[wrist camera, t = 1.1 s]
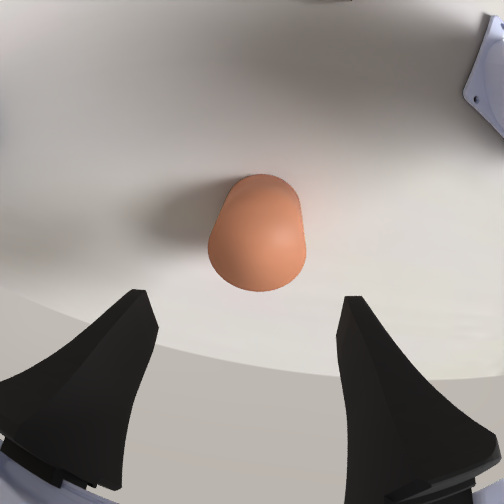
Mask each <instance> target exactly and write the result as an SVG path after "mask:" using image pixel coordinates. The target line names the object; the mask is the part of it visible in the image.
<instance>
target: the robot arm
mask: <svg viewBox="0 0 504 504" xmlns="http://www.w3.org/2000/svg"><path fill="white" fill-rule="evenodd" d="M501 26H502V28H501ZM463 96H464V98H465V100H466V101H467V102H468V103H469V104H470V105H472V106H473V107H474V108H475V109H476V110H477V111H478V112H479V113H480V114H481V115H482V116H483V117H484V118H485V119H486V120H487V121H488V122H489V123H490V124H491V125H492V126H493V127H494V128H495V129H496V130H497V131H498V133H499V134H500V135H501V136H502V137H503V138H504V22H503V21H502V20H501V18H500V17H498V16H497V15H493V16H491V18H490V21H489V24H488V28H487V31H486V34H485V37H484V39H483V42H482V45H481V48H480V51H479V53H478V56H477V59H476V61H475V64H474V66H473V69H472V71H471V74H470V76H469V79H468V81H467V83H466V86H465V88H464V90H463ZM474 97H476V102H474ZM158 329H159V327H158V324H157V321H156V318H155V316H154V313H153V310H152V307H151V304H150V301H149V298H148V296H147V293H146V290H136V289H132V290H130V291H129V292H128V293H126V294H125V295H124V296H123V297H122V298H121V299H119V300H118V301H117V302H116V303H115V304H114V305H113V306H111V307H110V308H109V309H108V310H107V311H106V312H105V313H104V314H102V315H101V316H100V317H99V318H98V319H97V320H96V321H95V322H93V323H92V324H91V325H90V326H89V327H87V329H85V330H84V331H83V332H82V333H80V334H79V335H78V336H77V337H75V338H74V339H73V340H72V341H71V342H69V343H68V344H66V345H65V346H64V347H62V348H61V349H60V350H58V351H57V352H56V353H54V354H52V355H51V356H49V357H48V358H46V359H44V360H43V361H41V362H39V363H38V364H36V365H34V366H33V367H31V368H29V369H28V370H26V371H24V372H22V373H20V374H17V375H15V376H13V377H11V378H9V379H6V380H4V381H1V382H0V433H1V434H2V435H4V436H5V439H4V441H2V440H1V439H0V504H118V503H116V502H113V501H110V500H108V499H105V498H103V497H100V496H98V495H96V494H93V493H91V492H89V491H86V487H87V485H89V486H91V487H93V488H96V487H97V484H98V485H100V486H103V487H105V488H108V489H110V490H113V491H116V490H118V489H120V488H122V465H123V455H124V447H125V440H126V434H127V429H128V424H129V419H130V415H131V410H132V406H133V402H134V400H135V396H136V394H137V391H138V388H139V386H140V383H141V381H142V378H143V375H144V373H145V370H146V368H147V365H148V363H149V360H150V357H151V355H152V352H153V349H154V345H155V342H156V338H157V333H158ZM336 342H337V357H338V365H339V371H340V377H341V382H342V388H343V395H344V400H345V407H346V415H347V428H348V429H347V431H348V458H347V461H348V462H347V479H346V492H345V502H344V504H504V479H501V480H499V481H497V482H495V483H494V484H491V485H489V486H487V487H485V488H483V489H481V490H479V491H477V492H474V493H472V490H471V488H472V487H474V486H475V484H476V483H475V477H476V476H477V475H479V474H481V473H483V472H484V471H486V470H488V469H490V468H491V467H493V466H494V465H496V464H497V463H499V462H500V460H501V454H500V449H499V445H498V441H497V438H496V435H495V434H494V433H492V432H491V431H489V430H488V429H486V428H484V427H483V426H481V425H479V424H478V423H477V422H475V421H474V420H472V419H471V418H470V417H468V416H467V415H466V414H464V413H463V412H462V411H460V410H459V409H458V408H457V407H455V406H454V405H453V404H452V403H451V402H450V401H449V400H447V399H446V398H445V397H444V396H443V395H442V394H441V393H439V392H438V391H437V390H436V389H435V388H434V387H433V386H432V385H431V384H430V383H429V382H428V381H427V380H426V379H425V378H424V377H423V376H422V375H421V373H420V372H419V371H418V370H417V369H416V368H415V367H414V366H413V364H412V363H411V362H410V361H409V360H408V358H407V357H406V356H405V355H404V354H403V352H402V351H401V350H400V348H399V347H398V346H397V345H396V343H395V342H394V341H393V339H392V338H391V337H390V335H389V334H388V333H387V331H386V330H385V328H384V327H383V326H382V324H381V323H380V321H379V320H378V319H377V317H376V316H375V314H374V313H373V311H372V310H371V308H370V307H369V306H368V304H367V303H366V301H365V300H364V298H363V297H362V296H345V298H344V303H343V307H342V312H341V316H340V321H339V325H338V329H337V334H336Z"/></svg>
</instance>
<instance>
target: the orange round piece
mask: <svg viewBox="0 0 504 504" xmlns="http://www.w3.org/2000/svg"><path fill="white" fill-rule="evenodd" d="M208 255H209V259H210V262H211V264H212V266H213V268H214V269H215V271H216V272H217V273H218V274H219V275H220V276H221V277H222V278H223V279H224V280H225V281H227V282H228V283H230V284H232V285H233V286H236V287H238V288H241V289H244V290H248V291H256V292H263V291H271V290H275V289H278V288H281V287H283V286H285V285H286V284H288V283H290V282H291V281H292V280H293V279H295V277H296V276H297V275H298V274H299V273H300V271H301V270H302V268H303V266H304V263H305V259H306V244H305V236H304V228H303V221H302V213H301V206H300V201H299V198H298V196H297V194H296V192H295V191H294V189H293V188H292V187H291V186H290V185H289V184H288V183H287V182H285V181H284V180H282V179H280V178H278V177H275V176H272V175H266V174H257V175H252V176H248V177H246V178H244V179H242V180H240V181H239V182H238V183H236V184H235V185H234V186H233V187H232V189H231V190H230V192H229V193H228V195H227V198H226V200H225V202H224V205H223V207H222V209H221V211H220V214H219V216H218V218H217V221H216V223H215V225H214V228H213V230H212V232H211V235H210V238H209V241H208Z"/></svg>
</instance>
